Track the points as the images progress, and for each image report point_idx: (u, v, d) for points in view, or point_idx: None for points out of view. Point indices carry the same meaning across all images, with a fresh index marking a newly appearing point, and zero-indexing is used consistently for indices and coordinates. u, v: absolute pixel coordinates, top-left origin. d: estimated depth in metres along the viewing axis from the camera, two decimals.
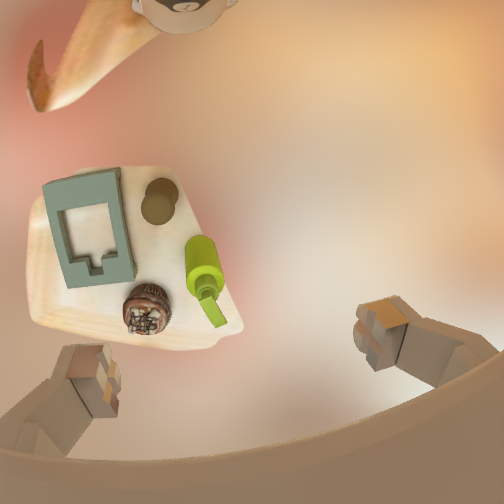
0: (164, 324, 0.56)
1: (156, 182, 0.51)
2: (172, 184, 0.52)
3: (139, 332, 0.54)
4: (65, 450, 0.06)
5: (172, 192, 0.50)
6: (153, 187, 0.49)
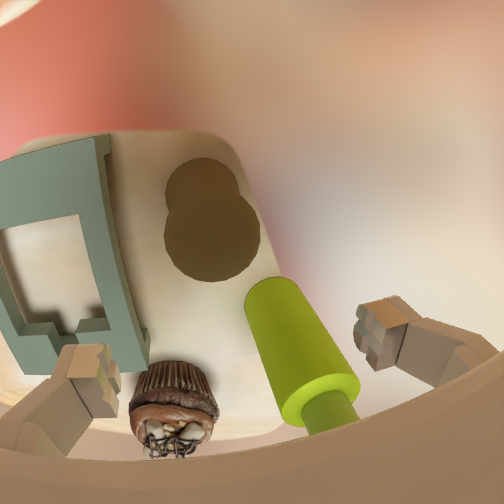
0: (209, 437, 0.28)
1: (194, 166, 0.22)
2: (229, 172, 0.24)
3: None
4: (65, 450, 0.06)
5: (236, 191, 0.21)
6: (190, 177, 0.20)
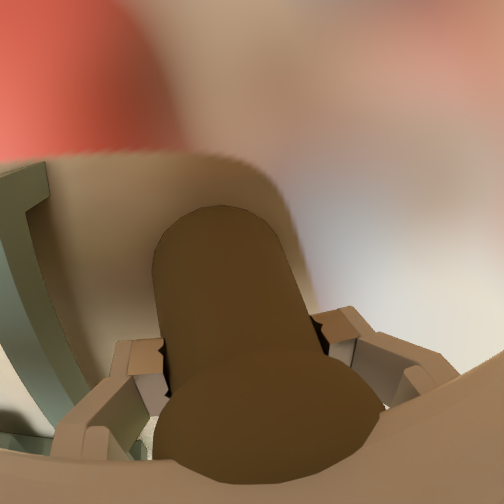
0: None
1: (205, 231, 0.11)
2: (272, 236, 0.13)
3: None
4: None
5: (299, 292, 0.10)
6: (200, 269, 0.09)
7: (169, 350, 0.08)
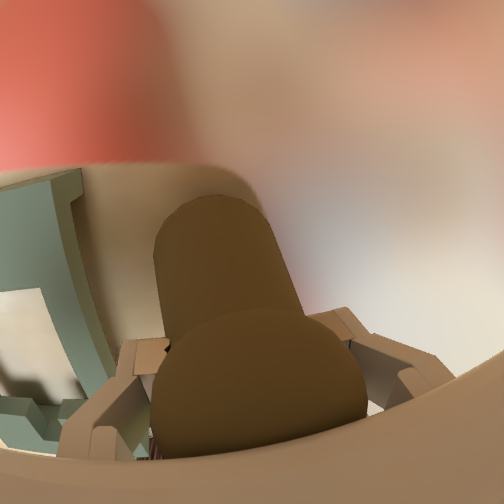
0: None
1: (203, 216, 0.12)
2: (265, 223, 0.14)
3: None
4: None
5: (287, 271, 0.11)
6: (197, 248, 0.10)
7: (168, 318, 0.09)
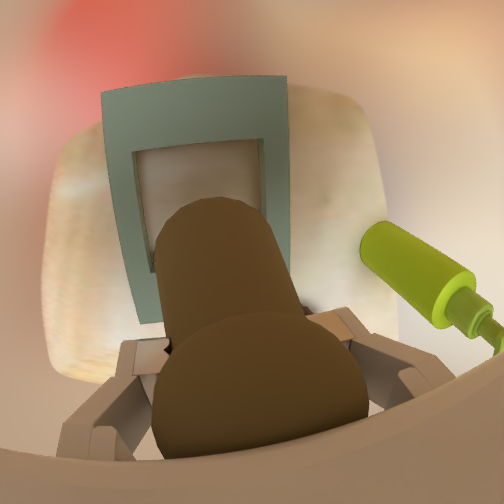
0: None
1: (204, 218, 0.12)
2: (265, 225, 0.14)
3: None
4: None
5: (288, 273, 0.11)
6: (198, 250, 0.10)
7: (169, 320, 0.09)
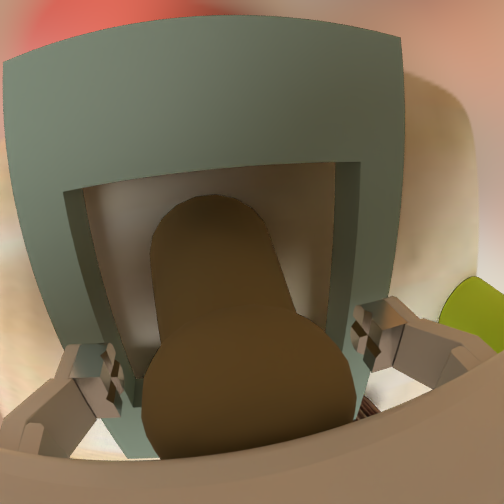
0: None
1: (197, 215, 0.12)
2: (259, 222, 0.14)
3: None
4: (69, 450, 0.06)
5: (280, 269, 0.11)
6: (191, 246, 0.10)
7: (162, 315, 0.09)
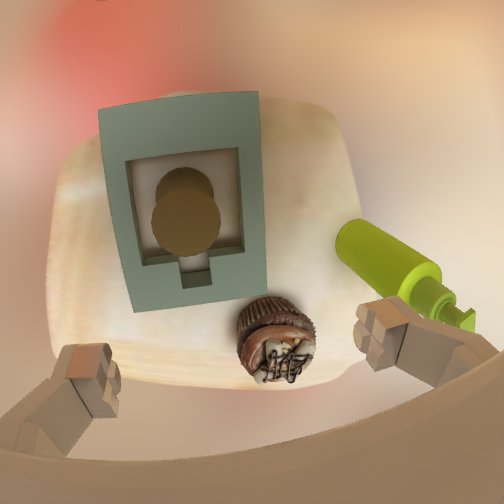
0: (310, 361, 0.34)
1: (176, 174, 0.28)
2: (204, 178, 0.30)
3: None
4: (65, 450, 0.06)
5: (208, 191, 0.27)
6: (172, 182, 0.27)
7: None
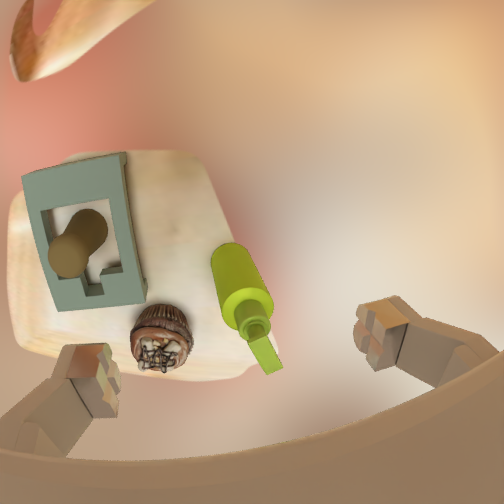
0: (185, 358, 0.43)
1: (77, 216, 0.37)
2: (97, 217, 0.38)
3: (152, 368, 0.41)
4: (66, 450, 0.06)
5: (93, 230, 0.36)
6: (70, 224, 0.35)
7: None
